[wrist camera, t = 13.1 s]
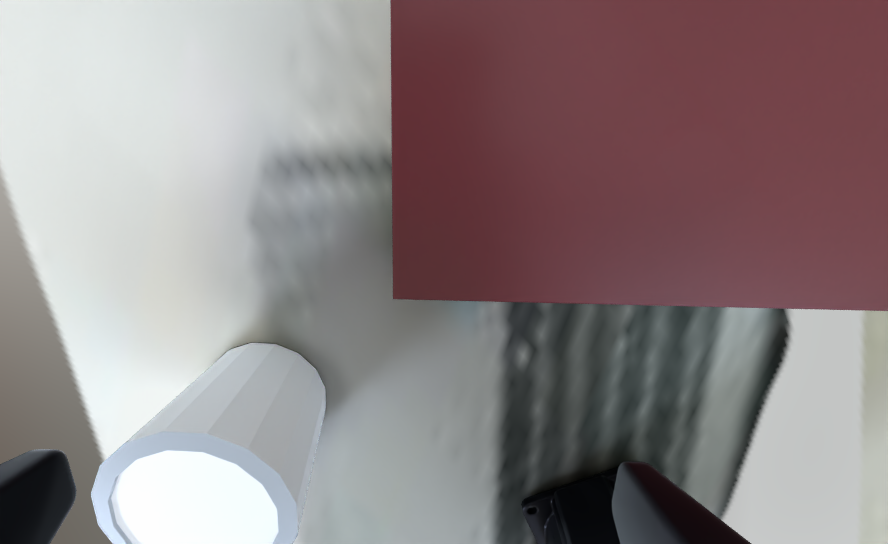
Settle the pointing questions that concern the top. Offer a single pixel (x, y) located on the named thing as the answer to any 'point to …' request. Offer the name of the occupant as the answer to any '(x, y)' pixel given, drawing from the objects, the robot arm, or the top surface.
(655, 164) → the book
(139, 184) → the top surface
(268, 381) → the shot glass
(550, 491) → the robot arm
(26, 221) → the top surface
